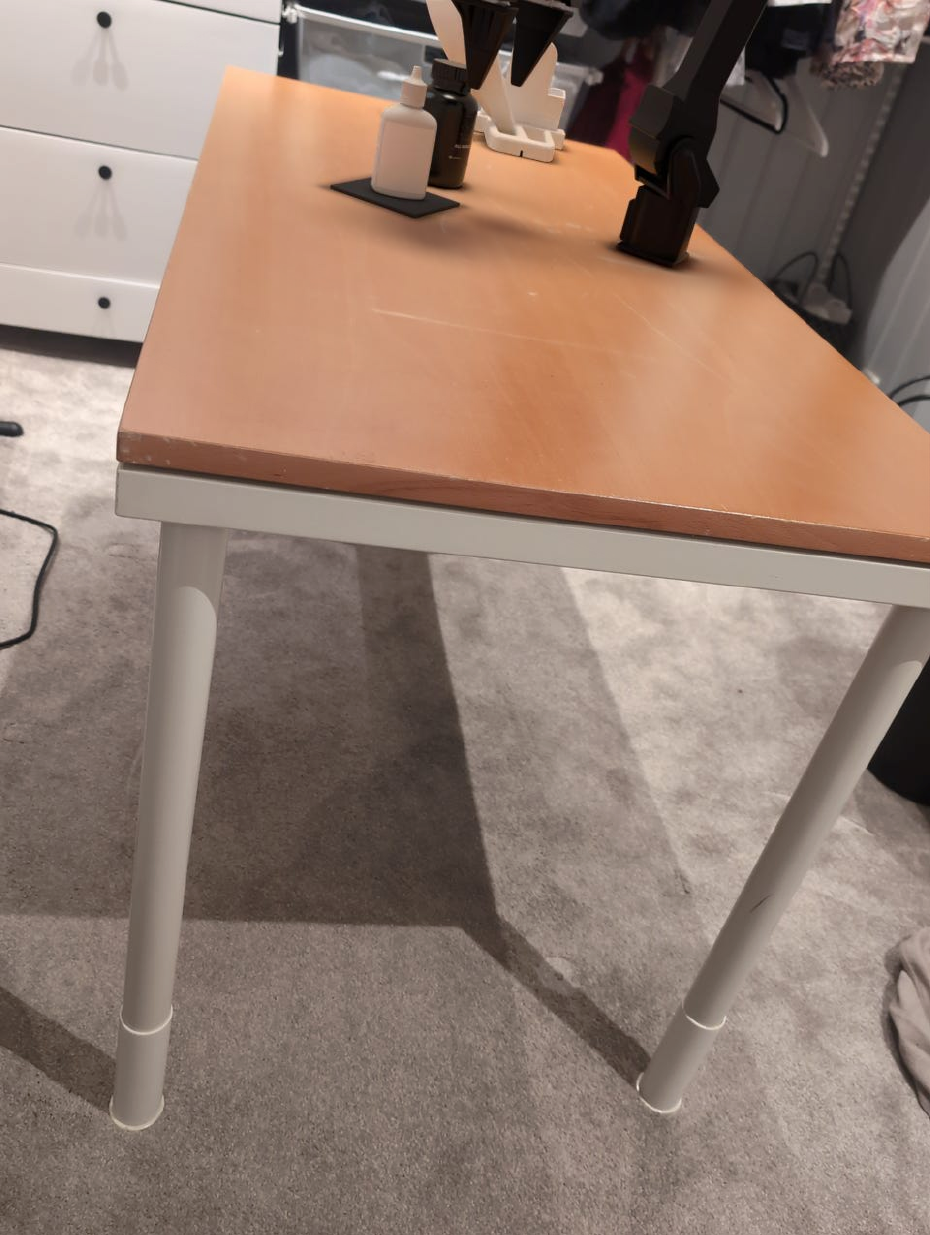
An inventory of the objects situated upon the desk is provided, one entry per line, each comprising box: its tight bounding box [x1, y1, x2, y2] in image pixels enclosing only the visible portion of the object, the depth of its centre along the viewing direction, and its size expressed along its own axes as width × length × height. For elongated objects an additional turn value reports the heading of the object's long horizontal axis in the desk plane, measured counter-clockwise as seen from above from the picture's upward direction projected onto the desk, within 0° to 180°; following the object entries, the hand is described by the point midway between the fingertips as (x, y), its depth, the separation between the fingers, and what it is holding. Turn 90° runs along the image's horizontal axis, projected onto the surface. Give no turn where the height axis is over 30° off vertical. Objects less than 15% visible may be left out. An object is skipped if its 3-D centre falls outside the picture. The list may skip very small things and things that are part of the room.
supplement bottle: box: [422, 58, 479, 189], centre depth 113 cm, size 7×7×12 cm
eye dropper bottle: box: [371, 65, 437, 200], centre depth 103 cm, size 4×6×12 cm
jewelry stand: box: [425, 0, 566, 163], centre depth 137 cm, size 25×16×25 cm, turn 91°
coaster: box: [329, 176, 461, 219], centre depth 107 cm, size 10×10×1 cm
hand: (495, 87), depth 94 cm, fingers open, 9 cm apart
